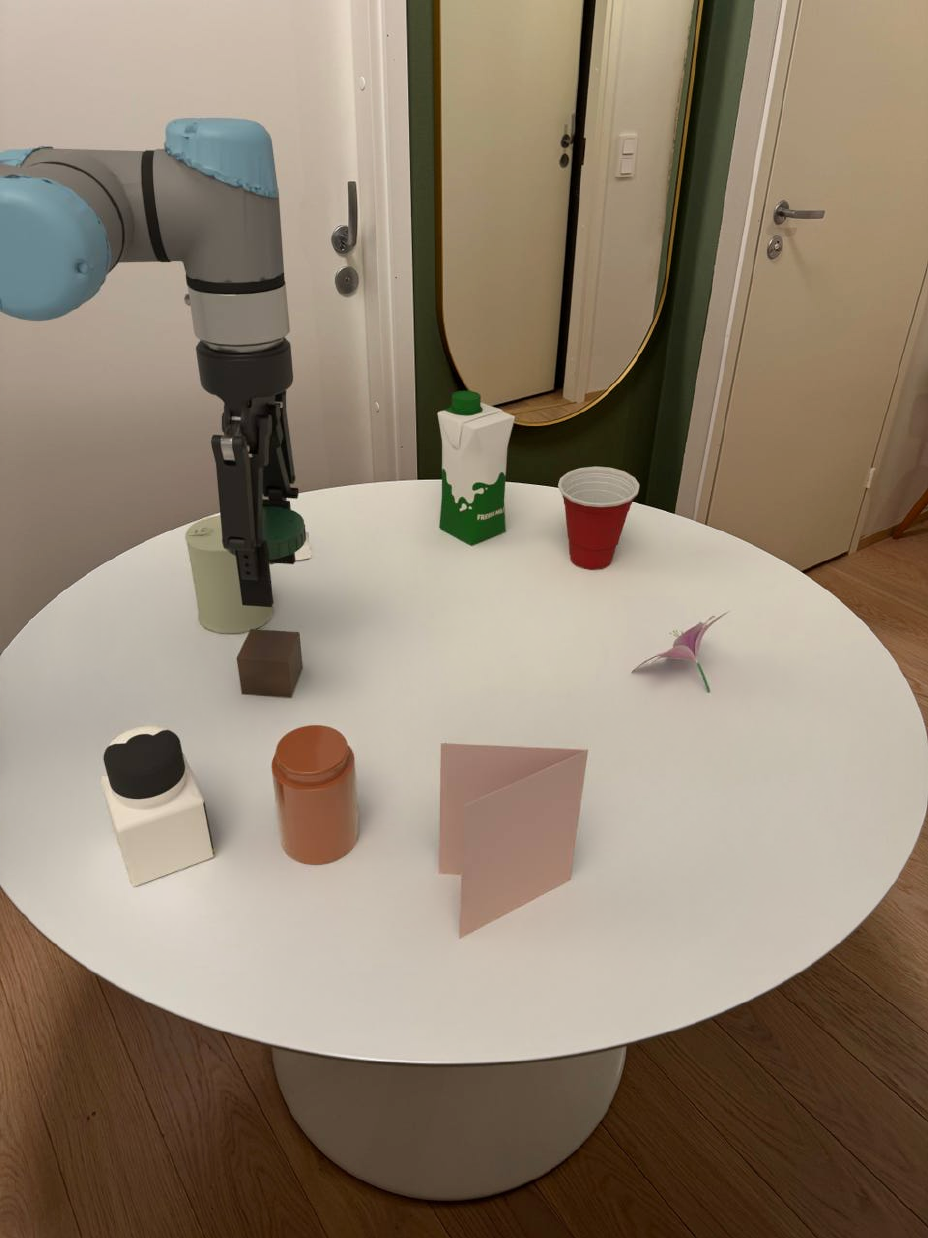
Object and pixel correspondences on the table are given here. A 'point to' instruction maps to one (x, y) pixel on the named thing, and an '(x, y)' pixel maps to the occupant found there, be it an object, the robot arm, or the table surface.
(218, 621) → the can
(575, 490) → the plastic cup
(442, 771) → the greeting card
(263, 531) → the lid
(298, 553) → the white curved plate
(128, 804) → the medicine bottle
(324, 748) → the jar
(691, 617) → the table surface
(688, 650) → the lily
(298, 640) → the riser
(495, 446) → the milk carton
